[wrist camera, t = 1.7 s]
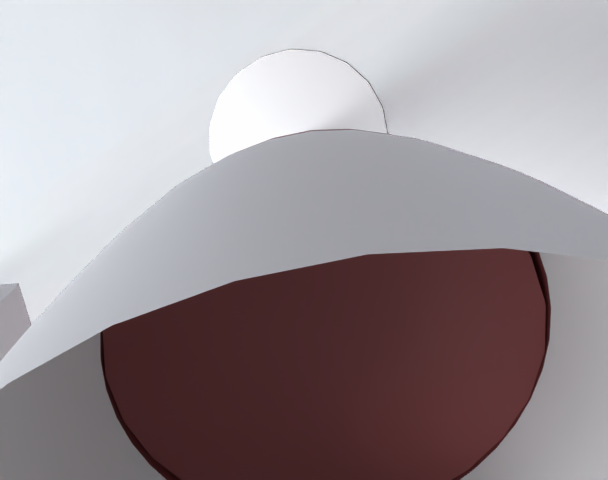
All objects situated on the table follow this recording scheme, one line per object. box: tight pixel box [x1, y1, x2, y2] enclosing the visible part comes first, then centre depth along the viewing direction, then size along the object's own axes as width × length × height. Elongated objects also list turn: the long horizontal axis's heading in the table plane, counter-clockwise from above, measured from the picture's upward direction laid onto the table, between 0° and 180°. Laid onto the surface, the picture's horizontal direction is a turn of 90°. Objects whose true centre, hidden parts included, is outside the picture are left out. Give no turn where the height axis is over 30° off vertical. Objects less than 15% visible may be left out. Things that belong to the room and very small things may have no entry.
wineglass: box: [0, 49, 608, 480], centre depth 15 cm, size 9×10×23 cm
